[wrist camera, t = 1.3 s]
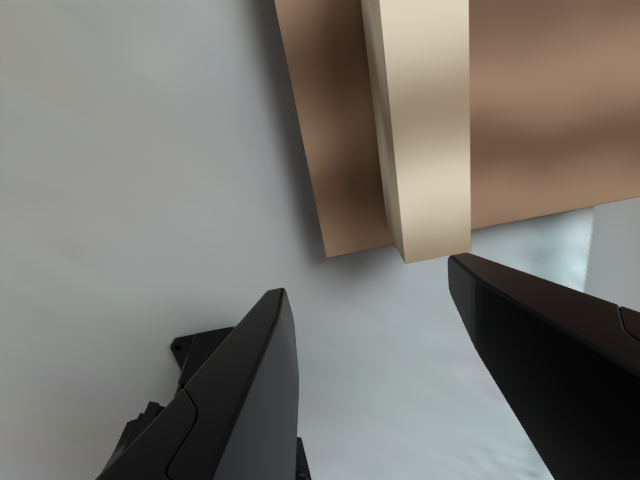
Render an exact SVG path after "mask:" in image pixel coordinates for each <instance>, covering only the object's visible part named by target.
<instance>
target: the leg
mask: <svg viewBox="0 0 640 480" xmlns="http://www.w3.org/2000/svg"><path fill="white" fill-rule="evenodd" d="M361 6H362V15H363V23H364V32H365V40H366V49H367V57H368V66H369V75H370V83H371V92H372V100H373V109H374V117H375V126H376V134H377V143H378V152H379V160H380V169H381V177H382V186H383V194H384V203H385V211H386V220H387V229H388V233H389V235H390V237H391V238H392V240H393V242H394V244H395V246H396V248H397V249H398V251H399V253H400V255H401V257H402V259H403V260H404V262H405V264H407V263H412V262H417V261H423V260H428V259H433V258H438V257H443V256H448V255H454V254H459V253H464V252H469V251H471V197H470V86H469V0H361Z"/></svg>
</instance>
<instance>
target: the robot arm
mask: <svg viewBox="0 0 640 480" xmlns="http://www.w3.org/2000/svg"><path fill="white" fill-rule="evenodd" d="M448 281H449V290H450V294H451V296H452V299H453V301H454V303H455V305H456V307H457V310H458V312H459V314H460V316H461V318H462V321H463V323H464V325H465V327H466V330H467V332H468V334H469V336H470V338H471V341H472V343H473V345H474V347H475V349H476V351H477V352H478V354H479V356H480V358H481V359H482V361H483V363H484V364H485V366H486V368H487V369H488V371H489V373H490V374H491V376H492V377H493V379H494V381H495V382H496V384H497V386H498V387H499V389H500V391H501V392H502V394H503V396H504V397H505V399H506V401H507V402H508V404H509V405H510V407H511V409H512V410H513V412H514V414H515V415H516V417H517V419H518V420H519V422H520V424H521V425H522V427H523V429H524V430H525V432H526V434H527V435H528V437H529V438H530V440H531V442H532V443H533V445H534V447H535V448H536V450H537V452H538V453H539V455H540V457H541V458H542V460H543V462H544V463H545V465H546V467H547V468H548V470H549V471H550V473H551V475H552V476H553V478H554V480H640V312H637V311H634V310H632V309H629V308H626V307H623V306H622V307H620V308H619V306H618V305H617V304H614V303H611V302H608V301H605V300H602V299H600V298H597V297H594V296H591V295H588V294H585V293H582V292H580V291H577V290H574V289H571V288H568V287H565V286H562V285H559V284H556V283H554V282H551V281H548V280H545V279H542V278H539V277H536V276H533V275H531V274H528V273H525V272H522V271H519V270H516V269H513V268H510V267H507V266H505V265H502V264H499V263H496V262H493V261H490V260H487V259H484V258H482V257H479V256H476V255H473V254H470V253H467V252H465V253H459V254H454V255H451V256H449V258H448ZM178 345H181V346H178ZM171 350H172V352H173V354H174V356H175V358H176V360H177V362H178V365H179V367H180V369H181V374H180V377H179V380H178V384H179V385H178V387H177V390H176V393H175V396H174V399H173V400H172V401H171V402H170V403H169V404H168V405H167V407H163V406H159V403H155V402H151V401H150V402H149V404H148V406H147V408H146V411H145V413H144V414H143V413H140V414H139V417H138V419H135V420H132V421H129V422H127V425H126V427H125V429H124V431H123V433H122V436H121V438H120V440H119V442H118V444H117V446H116V448H115V450H114V452H113V454H112V456H111V458H110V459H109V461H108V463H107V464H106V466H105V468H104V469H103V471H102V473H101V474H100V475H99V476H98V477H97V478H96V479H95V480H311V476H310V471H309V467H308V463H307V459H306V455H305V451H304V447H303V443H302V439H301V438H300V437H297V422H298V399H299V374H298V361H297V350H296V338H295V327H294V319H293V315H292V311H291V307H290V304H289V300H288V296H287V293H286V290H285V289H284V288H278V289H273V290H268V291H267V292H266V293H265V294H264V295H263V296H262V297H261V299H260V300H259V301H258V302H257V303H256V304H255V306H254V307H253V308H252V309H251V310H250V311H249V312H248V314H247V315H246V316H245V317H244V318H243V319H242V320H241V322H240V323H239V324H238V325H237V326H236V327H228V328H223V329H218V330H213V331H208V332H202V333H197V334H194V335H189V336H184V337H178V338H175V339H174V340H173V342H172V344H171Z"/></svg>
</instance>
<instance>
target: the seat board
mask: <svg viewBox="0 0 640 480" xmlns="http://www.w3.org/2000/svg"><path fill="white" fill-rule="evenodd" d="M274 1H275V6H276V11H277V16H278V21H279V26H280V31H281V36H282V41H283V46H284V51H285V56H286V60H287V65H288V70H289V75H290V80H291V85H292V90H293V95H294V100H295V105H296V110H297V115H298V119H299V124H300V129H301V134H302V139H303V144H304V149H305V154H306V159H307V164H308V169H309V174H310V178H311V183H312V188H313V193H314V198H315V203H316V208H317V213H318V218H319V223H320V228H321V233H322V237H323V242H324V247H325V252H326V257H327V258H328V257H333V256H338V255H343V254H348V253H354V252H359V251H364V250H369V249H374V248H379V247H384V246H390V245H395V244H394V242H393V240H392V238H391V237H390V235H389V233H388V229H387V220H386V211H385V203H384V194H383V186H382V177H381V169H380V160H379V152H378V143H377V134H376V126H375V117H374V109H373V100H372V92H371V83H370V75H369V66H368V57H367V49H366V40H365V32H364V23H363V15H362V6H361V0H274ZM469 86H470V197H471V230H472V229H477V228H482V227H487V226H492V225H497V224H503V223H508V222H513V221H518V220H523V219H528V218H533V217H539V216H544V215H549V214H554V213H559V212H564V211H569V210H574V209H580V208H585V207H590V206H595V205H600V204H605V203H610V202H616V201H621V200H626V199H631V198H636V197H640V0H469Z"/></svg>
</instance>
